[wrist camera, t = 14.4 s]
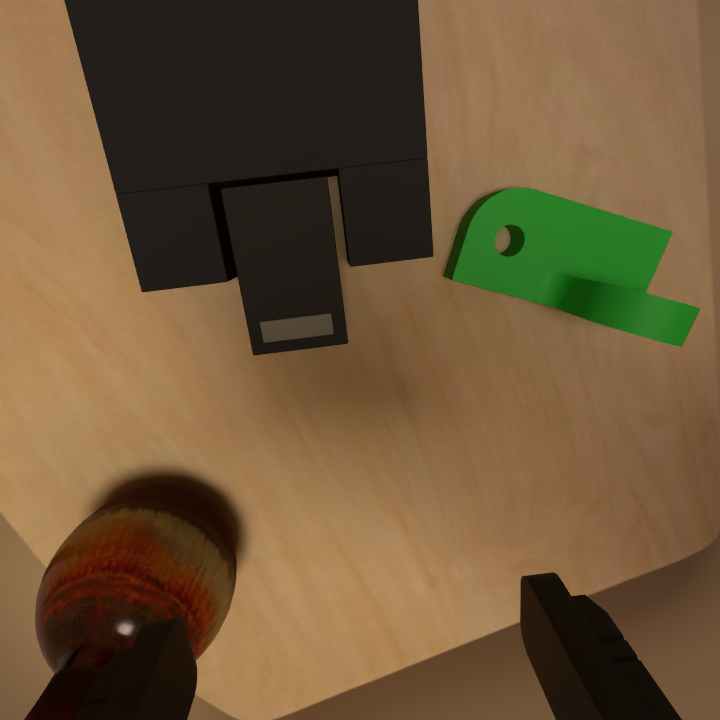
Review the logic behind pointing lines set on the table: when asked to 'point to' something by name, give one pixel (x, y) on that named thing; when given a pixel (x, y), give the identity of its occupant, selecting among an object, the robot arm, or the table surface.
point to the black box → (286, 264)
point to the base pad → (256, 120)
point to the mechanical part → (570, 261)
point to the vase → (130, 587)
